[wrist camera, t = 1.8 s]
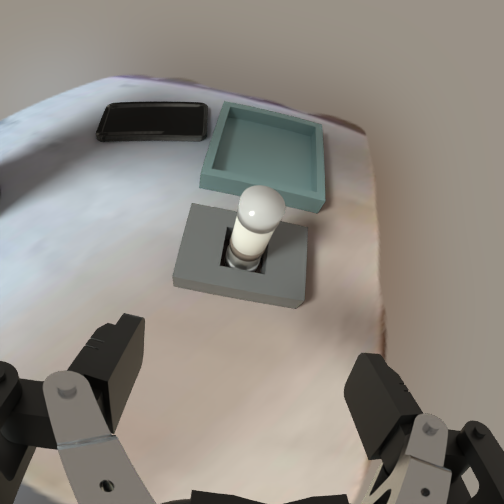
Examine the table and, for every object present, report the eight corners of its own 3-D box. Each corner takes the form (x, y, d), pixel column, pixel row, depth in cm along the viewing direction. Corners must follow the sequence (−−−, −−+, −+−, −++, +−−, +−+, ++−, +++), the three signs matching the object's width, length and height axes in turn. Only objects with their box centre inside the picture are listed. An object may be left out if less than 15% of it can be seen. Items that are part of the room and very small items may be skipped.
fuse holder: (173, 286, 29) (172, 276, 27) (191, 216, 32) (191, 202, 30) (295, 308, 30) (304, 301, 28) (300, 238, 34) (307, 227, 32)
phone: (107, 103, 38) (207, 102, 41) (108, 108, 39) (207, 108, 42) (93, 138, 34) (206, 138, 37) (95, 144, 35) (206, 144, 38)
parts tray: (199, 187, 34) (200, 173, 32) (222, 114, 41) (224, 101, 39) (317, 213, 36) (325, 201, 34) (316, 136, 42) (322, 124, 40)
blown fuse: (221, 273, 30) (236, 217, 22) (227, 243, 32) (243, 181, 23) (255, 279, 31) (284, 227, 22) (259, 249, 32) (286, 190, 23)
